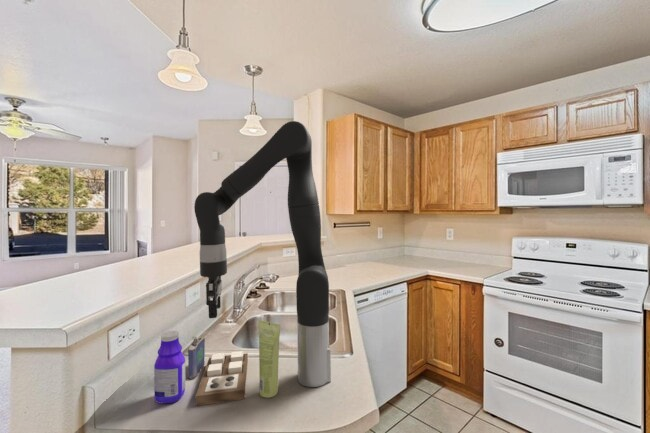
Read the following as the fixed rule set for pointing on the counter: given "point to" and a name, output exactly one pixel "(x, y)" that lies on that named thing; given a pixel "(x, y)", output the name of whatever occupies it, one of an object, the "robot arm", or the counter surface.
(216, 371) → the button front outer
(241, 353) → the button back inner
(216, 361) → the button back outer
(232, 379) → the panel
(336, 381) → the counter surface
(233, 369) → the button front inner
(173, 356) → the bottle
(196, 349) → the flask
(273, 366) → the tube
